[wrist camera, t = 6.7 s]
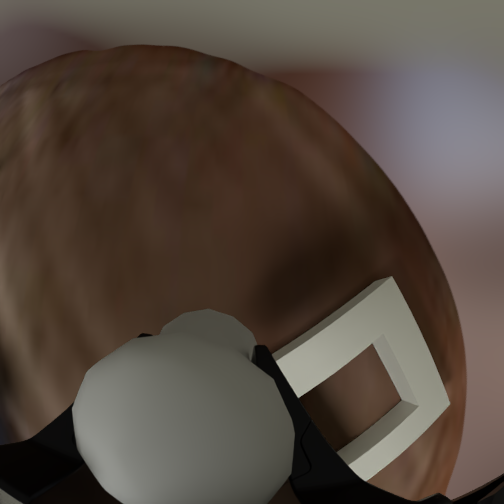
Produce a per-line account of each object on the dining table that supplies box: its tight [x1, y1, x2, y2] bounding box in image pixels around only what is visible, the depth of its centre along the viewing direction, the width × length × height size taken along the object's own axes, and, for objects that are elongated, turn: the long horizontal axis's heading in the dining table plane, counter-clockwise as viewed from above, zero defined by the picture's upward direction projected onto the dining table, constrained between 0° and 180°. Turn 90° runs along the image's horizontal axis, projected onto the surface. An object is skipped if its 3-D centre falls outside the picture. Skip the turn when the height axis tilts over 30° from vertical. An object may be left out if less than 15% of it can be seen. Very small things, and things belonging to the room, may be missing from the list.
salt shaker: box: [72, 309, 295, 504], centre depth 9 cm, size 6×6×13 cm
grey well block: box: [272, 276, 450, 481], centre depth 20 cm, size 16×16×3 cm
